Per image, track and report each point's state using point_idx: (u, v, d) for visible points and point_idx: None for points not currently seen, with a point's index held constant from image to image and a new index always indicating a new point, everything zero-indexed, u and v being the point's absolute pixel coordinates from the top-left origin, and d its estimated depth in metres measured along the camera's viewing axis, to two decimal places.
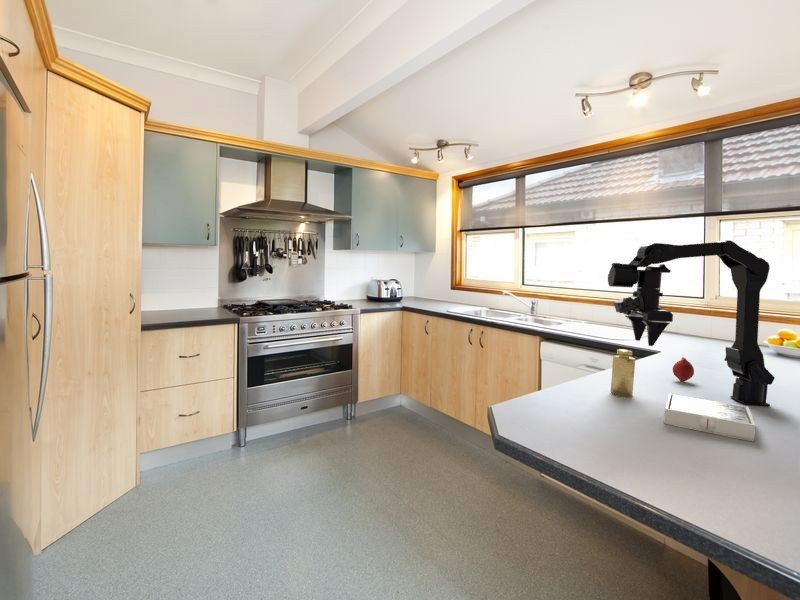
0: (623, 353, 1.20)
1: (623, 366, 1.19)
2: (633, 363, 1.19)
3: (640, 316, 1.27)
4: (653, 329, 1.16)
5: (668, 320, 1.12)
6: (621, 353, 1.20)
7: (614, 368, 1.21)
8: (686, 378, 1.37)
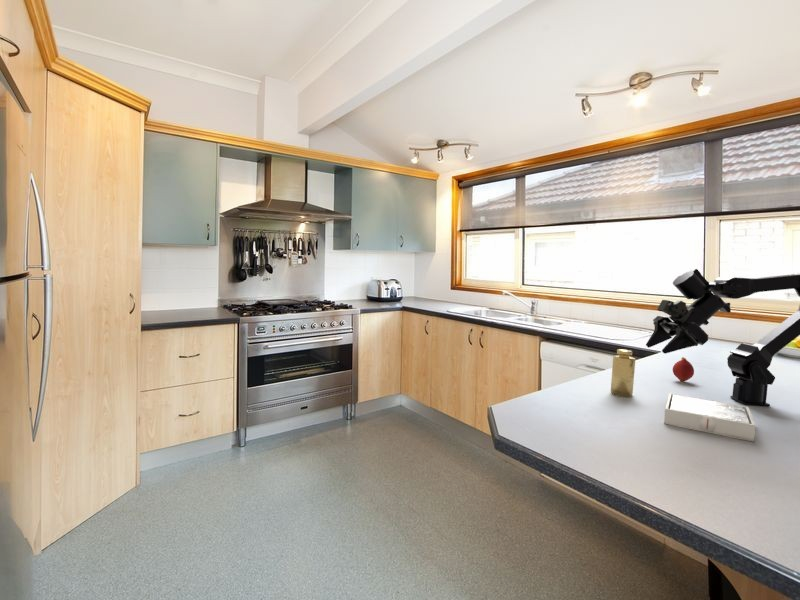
0: (623, 353, 1.20)
1: (623, 366, 1.19)
2: (633, 363, 1.19)
3: (666, 330, 1.25)
4: (678, 341, 1.14)
5: (701, 341, 1.10)
6: (621, 353, 1.20)
7: (614, 368, 1.21)
8: (686, 378, 1.37)
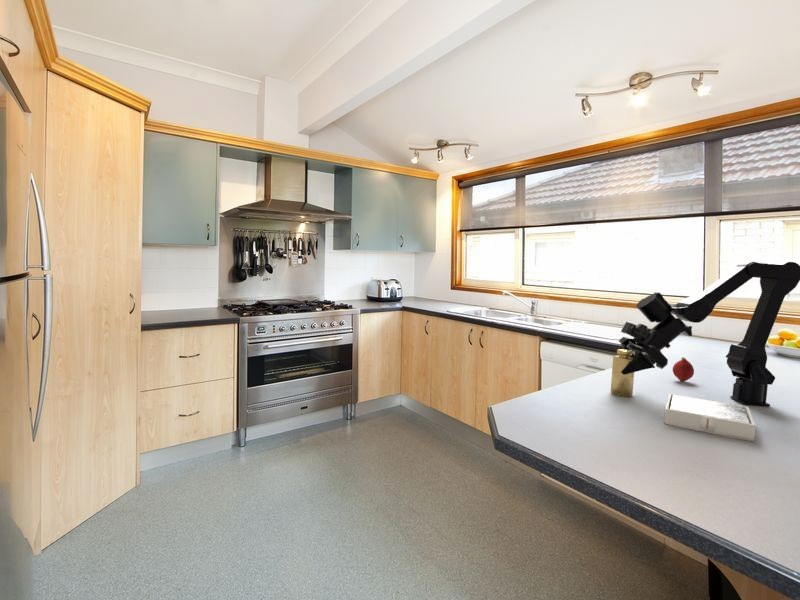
0: (623, 353, 1.20)
1: (623, 366, 1.19)
2: None
3: (633, 353, 1.24)
4: (637, 362, 1.17)
5: (660, 365, 1.11)
6: (621, 353, 1.20)
7: (614, 368, 1.21)
8: (686, 378, 1.37)
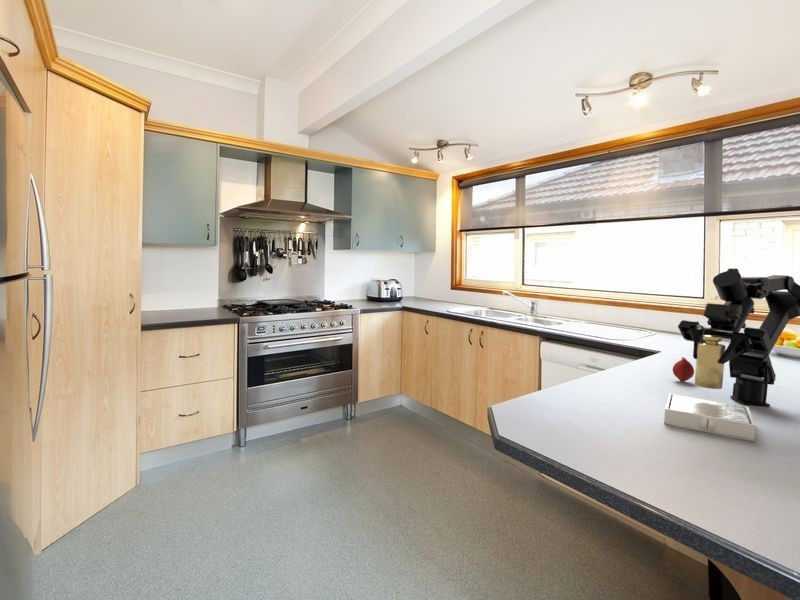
0: (717, 339, 1.04)
1: (720, 354, 1.03)
2: None
3: None
4: (734, 348, 1.03)
5: (768, 348, 1.00)
6: (715, 339, 1.04)
7: (707, 358, 1.04)
8: (686, 378, 1.37)
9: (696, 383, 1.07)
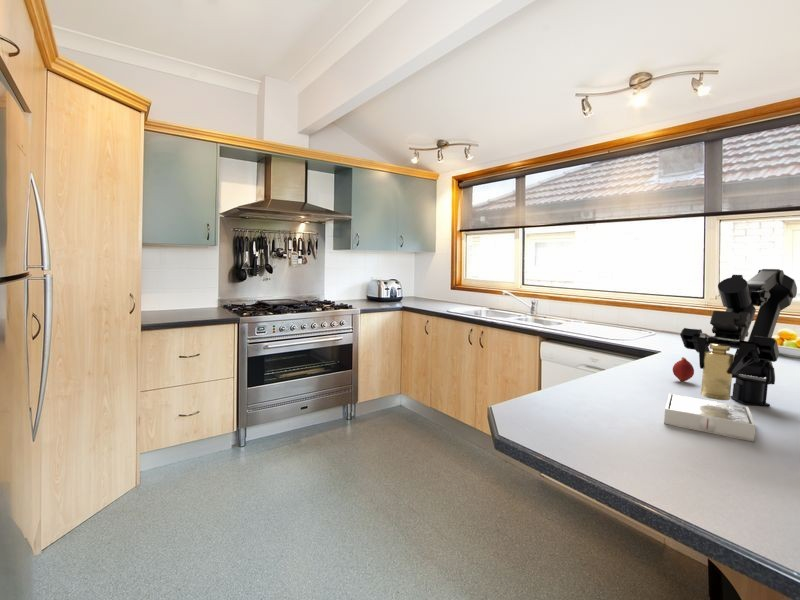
0: (726, 348, 1.00)
1: (729, 364, 0.99)
2: None
3: None
4: (742, 358, 0.99)
5: (776, 357, 0.97)
6: (724, 349, 1.00)
7: (716, 368, 1.00)
8: (686, 378, 1.37)
9: (703, 394, 1.02)
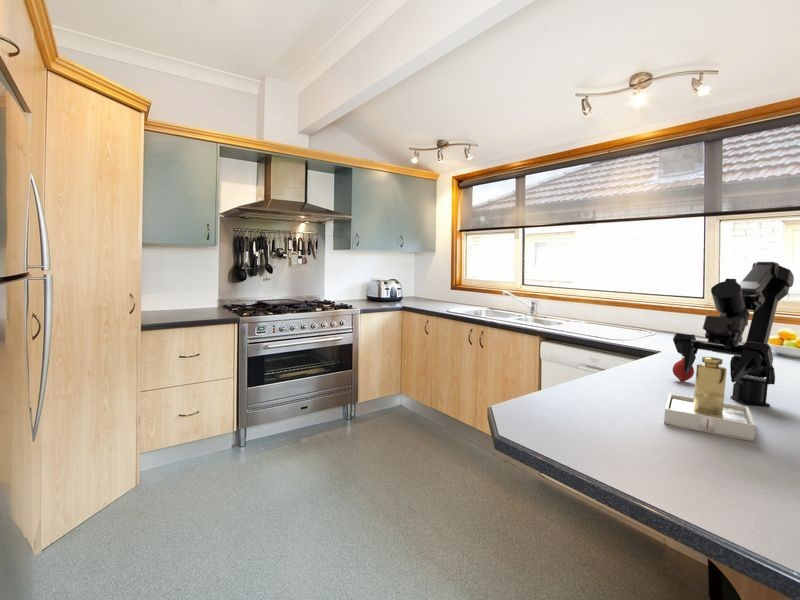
0: (718, 362, 0.98)
1: (721, 378, 0.97)
2: None
3: (692, 350, 1.06)
4: (745, 365, 0.96)
5: (770, 364, 0.95)
6: (716, 362, 0.98)
7: (708, 382, 0.98)
8: (686, 378, 1.37)
9: (696, 408, 1.00)
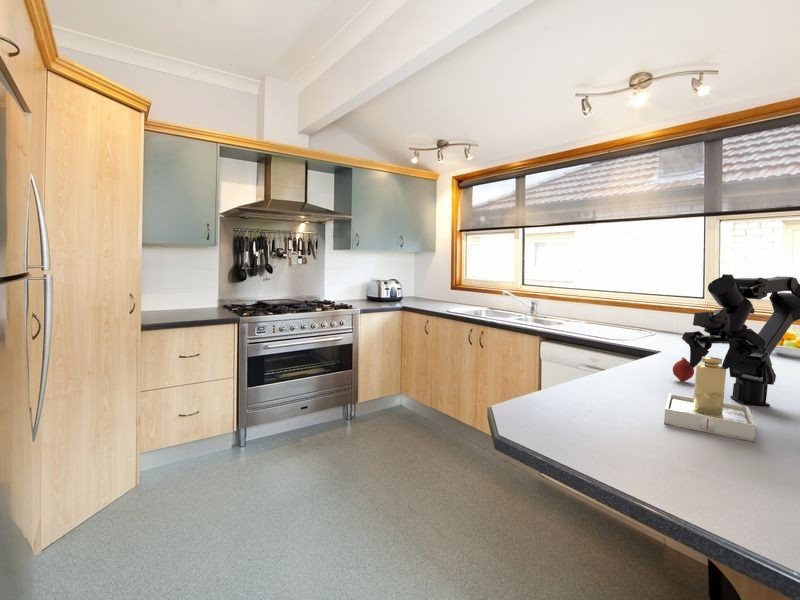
0: (718, 362, 0.98)
1: (721, 378, 0.97)
2: None
3: (702, 345, 1.15)
4: (735, 352, 1.04)
5: (761, 346, 1.01)
6: (716, 362, 0.98)
7: (708, 382, 0.98)
8: (686, 378, 1.37)
9: (696, 408, 1.00)
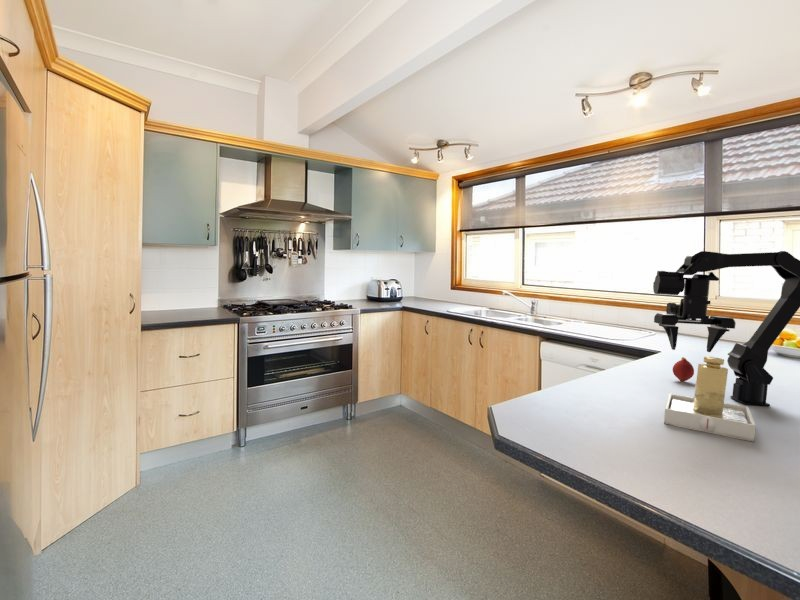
0: (720, 362, 0.97)
1: (723, 378, 0.97)
2: None
3: (714, 327, 1.20)
4: (670, 333, 1.23)
5: (660, 322, 1.21)
6: (718, 362, 0.97)
7: (710, 382, 0.97)
8: (686, 378, 1.37)
9: (696, 408, 1.00)
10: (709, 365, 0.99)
